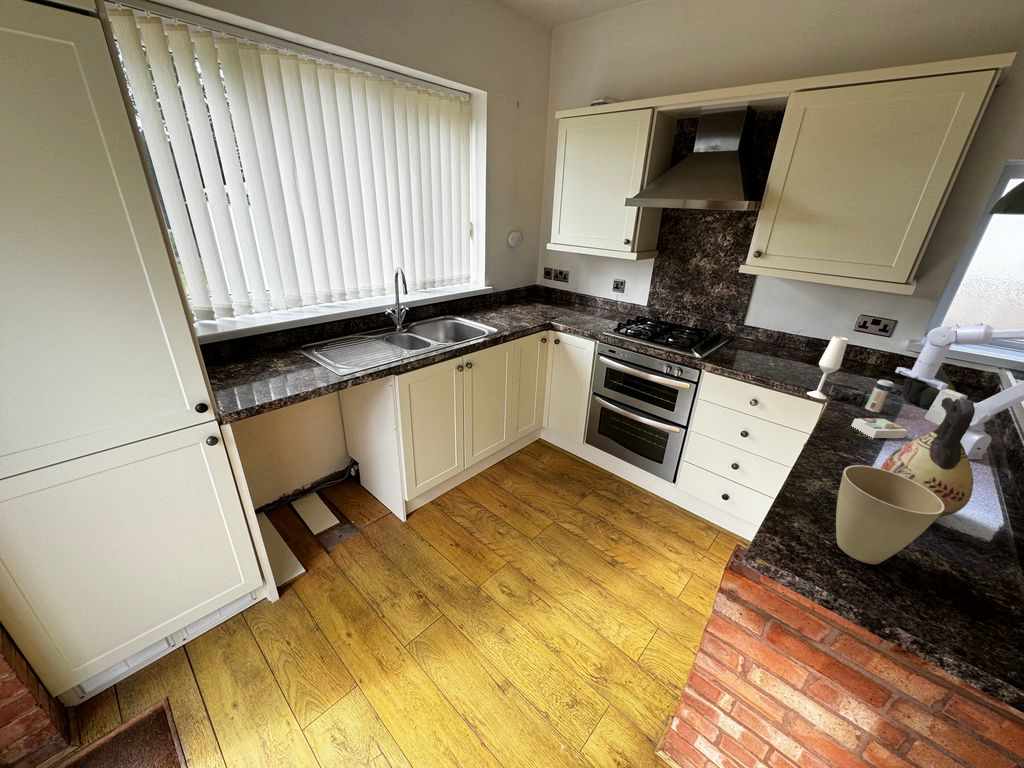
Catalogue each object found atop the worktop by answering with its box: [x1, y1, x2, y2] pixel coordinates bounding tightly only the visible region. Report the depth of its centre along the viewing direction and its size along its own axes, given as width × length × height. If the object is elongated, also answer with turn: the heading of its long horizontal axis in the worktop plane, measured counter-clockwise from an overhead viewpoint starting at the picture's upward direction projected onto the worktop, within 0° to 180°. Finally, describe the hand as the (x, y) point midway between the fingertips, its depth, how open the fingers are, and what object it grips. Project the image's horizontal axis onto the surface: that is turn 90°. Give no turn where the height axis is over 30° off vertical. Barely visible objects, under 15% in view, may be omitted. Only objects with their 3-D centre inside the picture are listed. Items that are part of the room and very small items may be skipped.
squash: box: [901, 370, 957, 409], centre depth 163 cm, size 14×15×15 cm
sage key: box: [876, 418, 895, 429], centre depth 135 cm, size 3×3×2 cm
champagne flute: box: [806, 335, 849, 400], centre depth 160 cm, size 7×7×24 cm
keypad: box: [850, 417, 909, 439], centre depth 137 cm, size 8×12×4 cm, turn 98°
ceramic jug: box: [879, 397, 975, 523], centre depth 93 cm, size 17×15×30 cm
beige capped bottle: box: [864, 378, 894, 414], centre depth 152 cm, size 5×5×12 cm
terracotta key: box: [892, 422, 903, 429], centre depth 136 cm, size 3×3×2 cm
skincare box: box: [923, 389, 968, 426], centre depth 147 cm, size 6×4×12 cm
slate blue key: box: [865, 423, 882, 429], centre depth 135 cm, size 3×3×2 cm
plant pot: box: [835, 464, 945, 565], centre depth 82 cm, size 15×15×16 cm
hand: (908, 400), depth 138 cm, fingers closed
